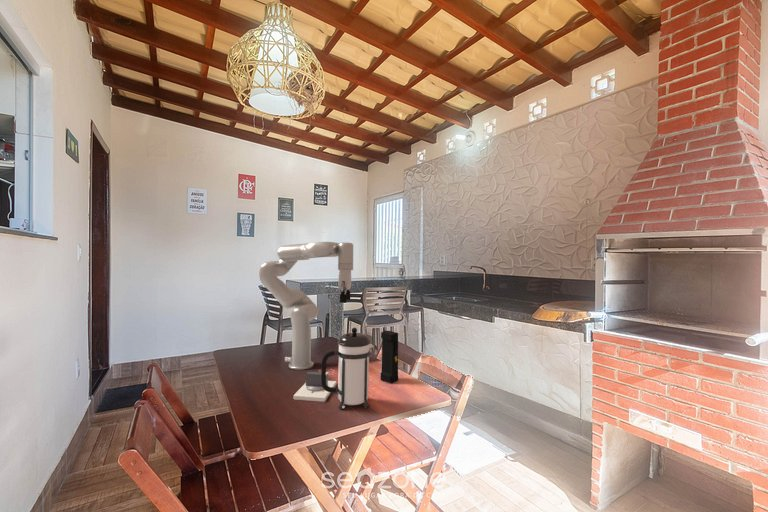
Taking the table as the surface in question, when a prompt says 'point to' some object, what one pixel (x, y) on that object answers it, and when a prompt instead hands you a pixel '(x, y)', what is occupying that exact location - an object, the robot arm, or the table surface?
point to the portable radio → (389, 356)
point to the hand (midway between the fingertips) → (345, 301)
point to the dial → (315, 381)
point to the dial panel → (313, 393)
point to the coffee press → (350, 369)
